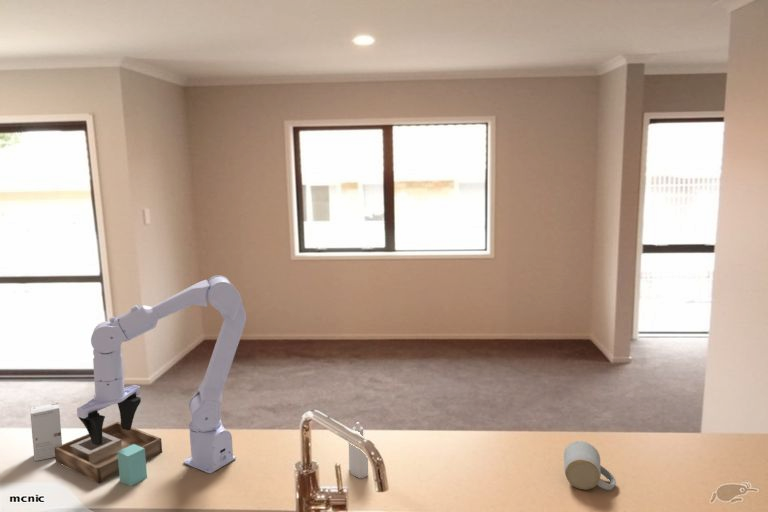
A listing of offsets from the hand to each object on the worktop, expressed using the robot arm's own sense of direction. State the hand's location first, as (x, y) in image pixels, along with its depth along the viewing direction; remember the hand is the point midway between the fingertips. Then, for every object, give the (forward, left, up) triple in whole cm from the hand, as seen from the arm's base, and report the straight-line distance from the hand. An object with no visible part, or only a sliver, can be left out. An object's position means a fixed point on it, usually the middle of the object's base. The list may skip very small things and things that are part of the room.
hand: (112, 436), depth 118 cm
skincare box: (+25, +2, -11) cm, 27 cm away
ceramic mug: (-91, -53, -11) cm, 105 cm away
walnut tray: (+11, -5, -10) cm, 16 cm away
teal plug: (-3, -2, -10) cm, 11 cm away
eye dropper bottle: (-45, -30, -11) cm, 55 cm away
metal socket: (+13, -3, -10) cm, 17 cm away
